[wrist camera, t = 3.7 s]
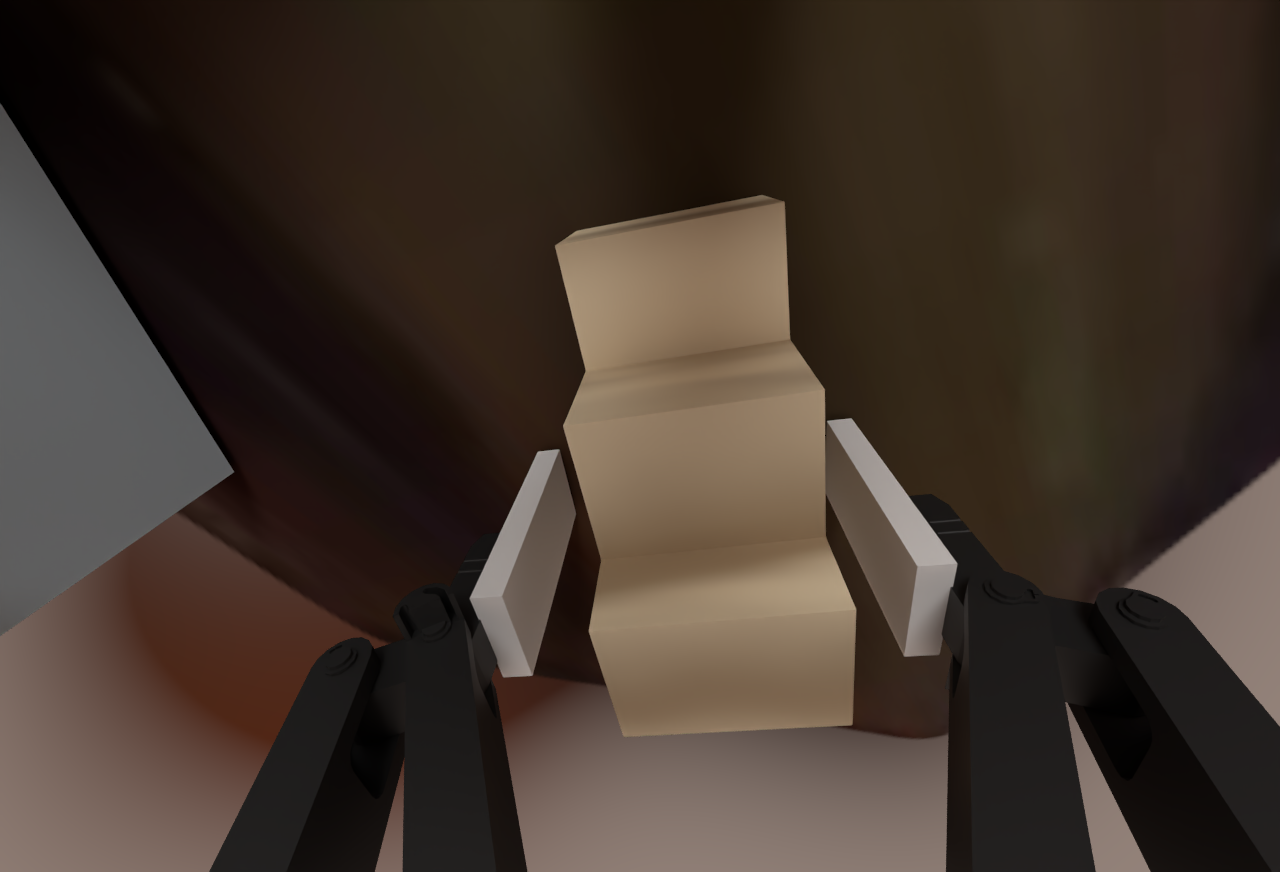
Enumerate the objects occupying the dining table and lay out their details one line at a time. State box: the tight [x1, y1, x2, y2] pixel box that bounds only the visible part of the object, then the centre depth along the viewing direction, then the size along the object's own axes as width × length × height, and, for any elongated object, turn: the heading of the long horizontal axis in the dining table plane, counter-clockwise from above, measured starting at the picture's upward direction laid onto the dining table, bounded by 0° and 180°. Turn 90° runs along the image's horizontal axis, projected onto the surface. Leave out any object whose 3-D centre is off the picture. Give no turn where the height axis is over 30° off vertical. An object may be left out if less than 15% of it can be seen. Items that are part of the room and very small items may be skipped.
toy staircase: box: [555, 195, 856, 737], centre depth 12 cm, size 10×5×8 cm, turn 10°
